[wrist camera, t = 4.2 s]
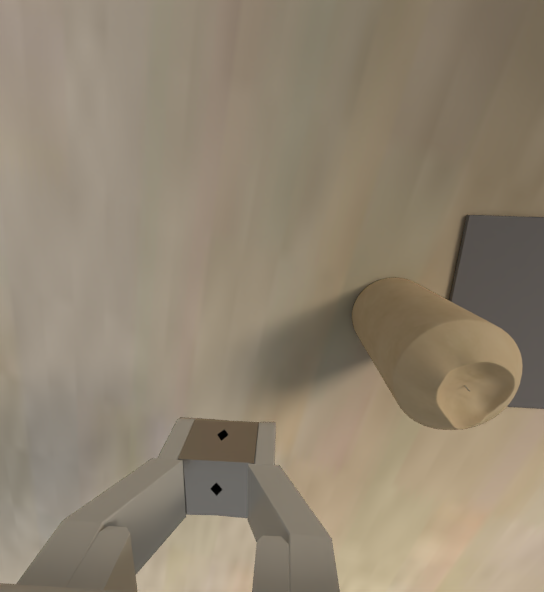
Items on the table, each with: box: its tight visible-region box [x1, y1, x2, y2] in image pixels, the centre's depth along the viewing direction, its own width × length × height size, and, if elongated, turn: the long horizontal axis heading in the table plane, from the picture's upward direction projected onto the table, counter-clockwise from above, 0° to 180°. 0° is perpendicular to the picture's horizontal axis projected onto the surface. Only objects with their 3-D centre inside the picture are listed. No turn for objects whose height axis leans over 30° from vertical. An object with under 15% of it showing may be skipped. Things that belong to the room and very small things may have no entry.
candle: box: [352, 278, 523, 430], centre depth 16 cm, size 6×6×10 cm
